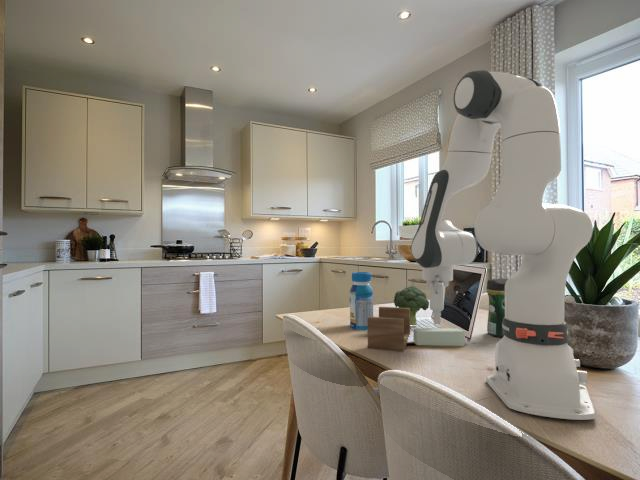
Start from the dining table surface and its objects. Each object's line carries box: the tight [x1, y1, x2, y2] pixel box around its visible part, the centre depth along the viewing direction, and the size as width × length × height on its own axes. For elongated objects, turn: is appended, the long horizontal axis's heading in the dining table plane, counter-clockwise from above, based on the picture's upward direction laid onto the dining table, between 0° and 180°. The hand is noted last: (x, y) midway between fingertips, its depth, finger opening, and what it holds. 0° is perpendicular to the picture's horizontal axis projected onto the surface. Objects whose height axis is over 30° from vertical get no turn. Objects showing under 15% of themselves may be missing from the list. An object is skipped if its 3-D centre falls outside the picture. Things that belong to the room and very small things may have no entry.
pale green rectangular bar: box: [412, 327, 465, 347], centre depth 113 cm, size 14×4×4 cm, turn 89°
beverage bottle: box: [349, 271, 375, 331], centre depth 133 cm, size 8×8×20 cm
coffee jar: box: [486, 277, 509, 338], centre depth 124 cm, size 10×8×19 cm
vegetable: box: [393, 285, 430, 326], centre depth 135 cm, size 12×13×15 cm
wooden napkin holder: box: [367, 306, 411, 353], centre depth 116 cm, size 20×10×9 cm, turn 161°
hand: (437, 320), depth 114 cm, fingers open, 8 cm apart
